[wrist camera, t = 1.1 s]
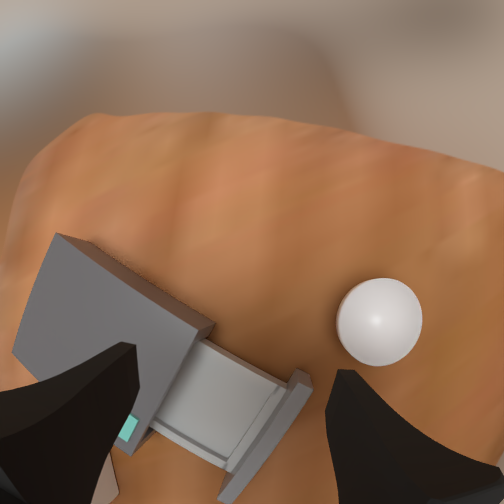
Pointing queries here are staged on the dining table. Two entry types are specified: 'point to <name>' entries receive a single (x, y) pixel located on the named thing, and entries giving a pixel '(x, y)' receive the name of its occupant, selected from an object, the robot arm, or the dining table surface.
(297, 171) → the dining table surface
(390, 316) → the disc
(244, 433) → the grey drawer
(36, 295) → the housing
